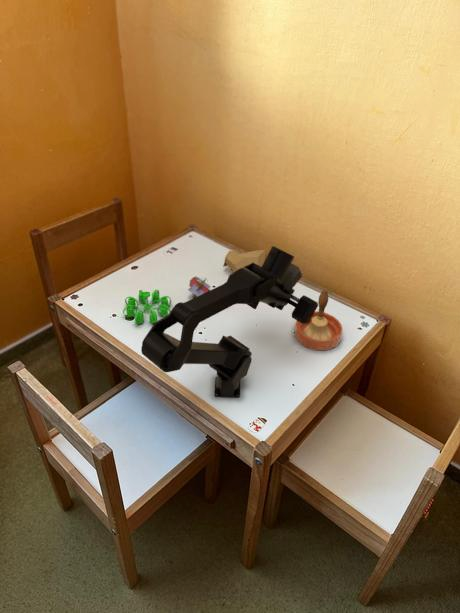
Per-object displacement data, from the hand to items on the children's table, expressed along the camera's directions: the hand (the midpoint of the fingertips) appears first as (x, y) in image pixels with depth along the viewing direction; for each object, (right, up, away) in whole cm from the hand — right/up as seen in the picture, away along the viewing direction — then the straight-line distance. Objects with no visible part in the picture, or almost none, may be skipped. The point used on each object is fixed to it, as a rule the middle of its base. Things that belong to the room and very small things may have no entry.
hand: (295, 301), depth 126 cm
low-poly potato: (-13, +9, +34) cm, 38 cm away
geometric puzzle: (-27, +2, +24) cm, 36 cm away
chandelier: (-42, -3, +17) cm, 46 cm away
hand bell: (+8, -10, +11) cm, 17 cm away
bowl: (+8, -10, +11) cm, 17 cm away
